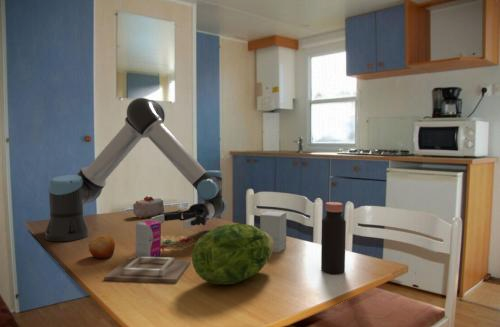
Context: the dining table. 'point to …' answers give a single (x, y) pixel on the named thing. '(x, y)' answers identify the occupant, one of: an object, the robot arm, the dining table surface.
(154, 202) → the food item
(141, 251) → the supplement box
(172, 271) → the socket board
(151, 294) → the dining table surface
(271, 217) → the supplement box
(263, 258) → the lettuce
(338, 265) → the bottle
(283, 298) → the dining table surface
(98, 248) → the fruit
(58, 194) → the robot arm
